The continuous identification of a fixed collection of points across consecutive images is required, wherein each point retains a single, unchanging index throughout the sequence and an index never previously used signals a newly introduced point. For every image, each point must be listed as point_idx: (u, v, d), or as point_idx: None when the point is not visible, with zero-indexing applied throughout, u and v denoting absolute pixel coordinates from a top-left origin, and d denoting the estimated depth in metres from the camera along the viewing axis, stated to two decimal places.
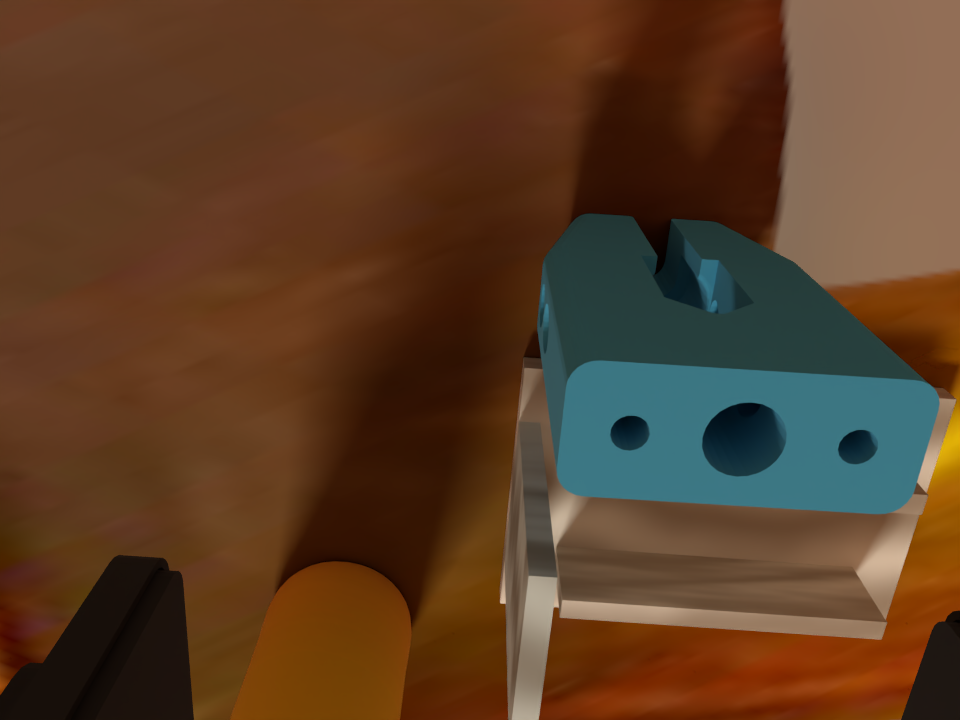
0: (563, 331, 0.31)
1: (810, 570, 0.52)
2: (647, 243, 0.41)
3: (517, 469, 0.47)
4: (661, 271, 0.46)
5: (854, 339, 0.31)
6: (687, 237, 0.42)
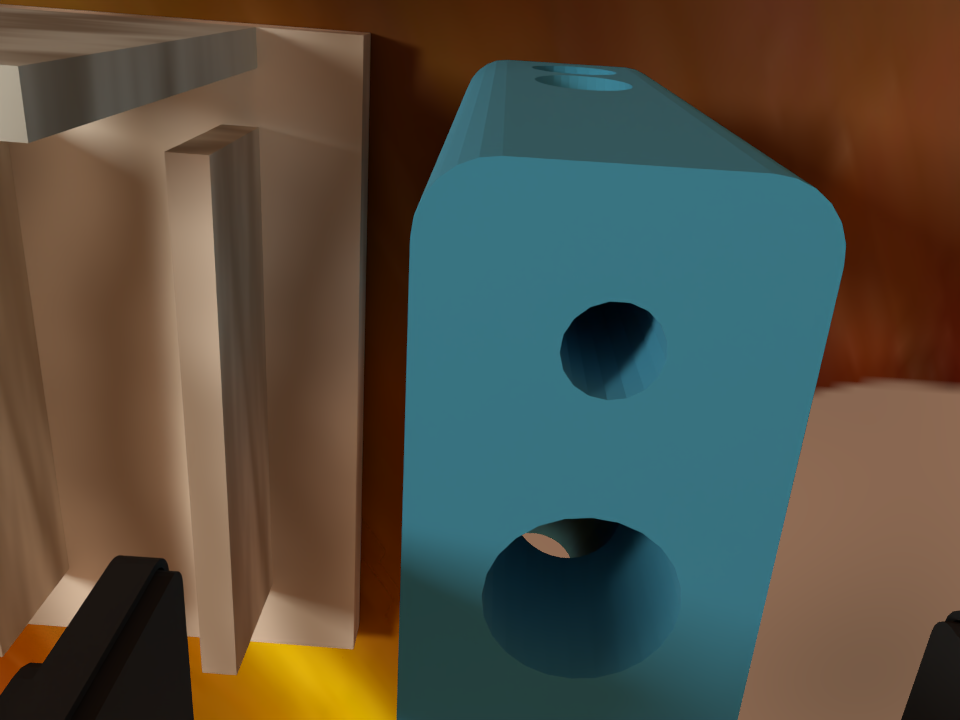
0: (738, 137, 0.13)
1: (53, 519, 0.33)
2: None
3: (173, 26, 0.24)
4: None
5: None
6: None
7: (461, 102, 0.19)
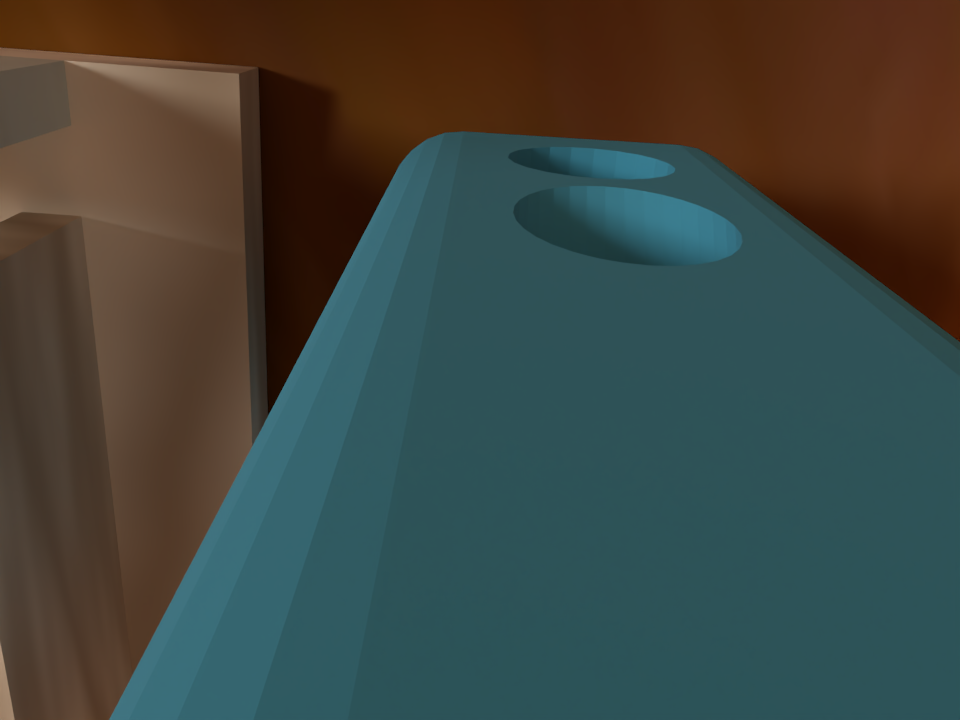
0: None
1: None
2: None
3: None
4: None
5: None
6: None
7: None
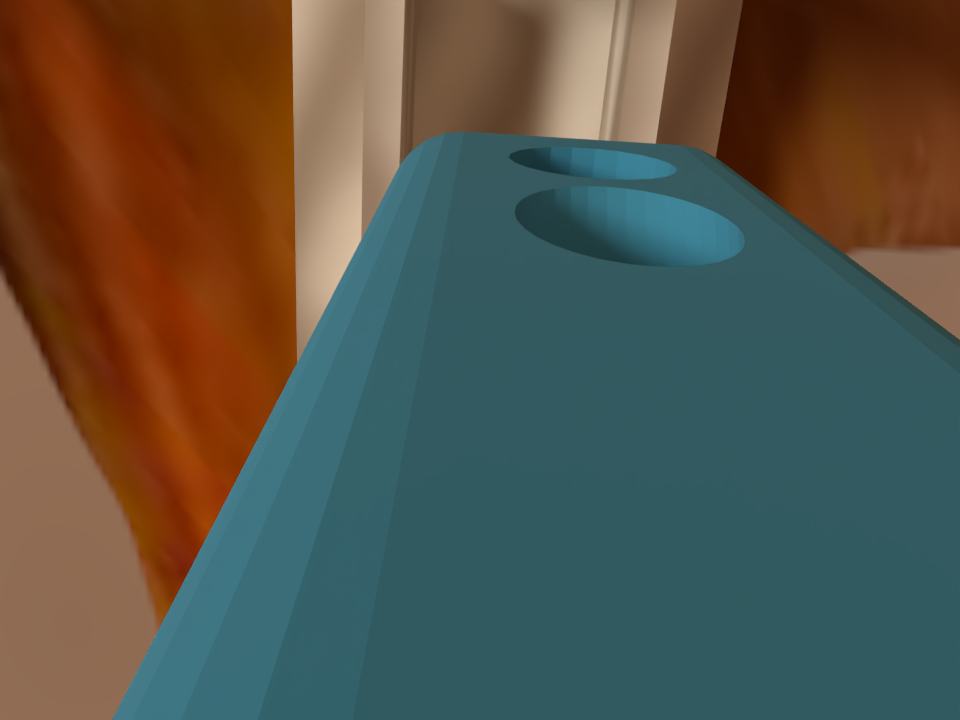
0: None
1: None
2: None
3: None
4: None
5: None
6: None
7: None
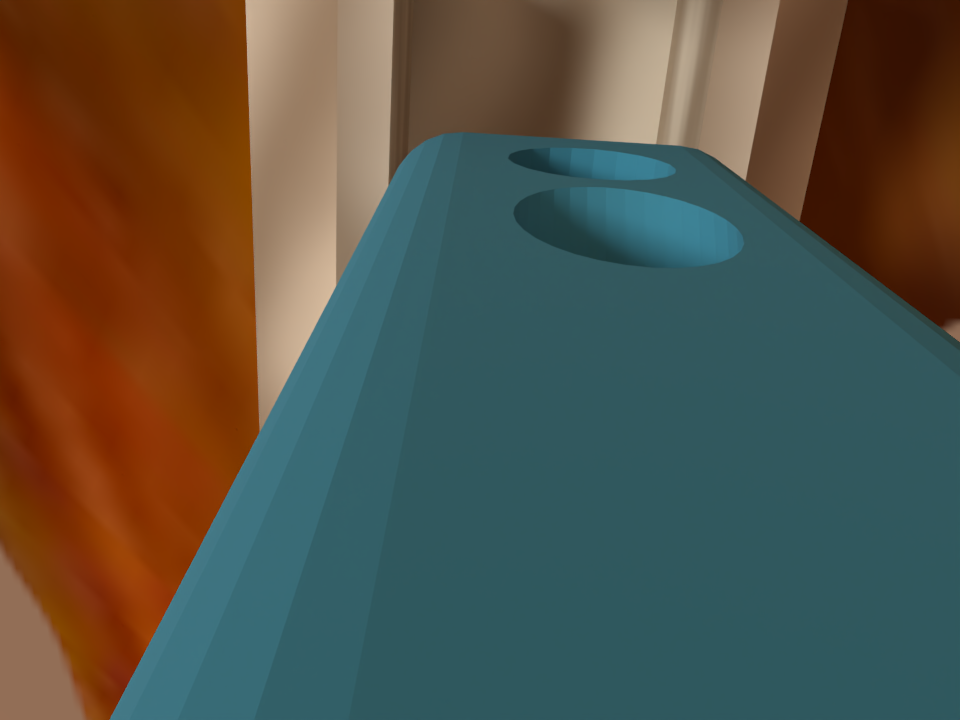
0: None
1: None
2: None
3: None
4: None
5: None
6: None
7: None
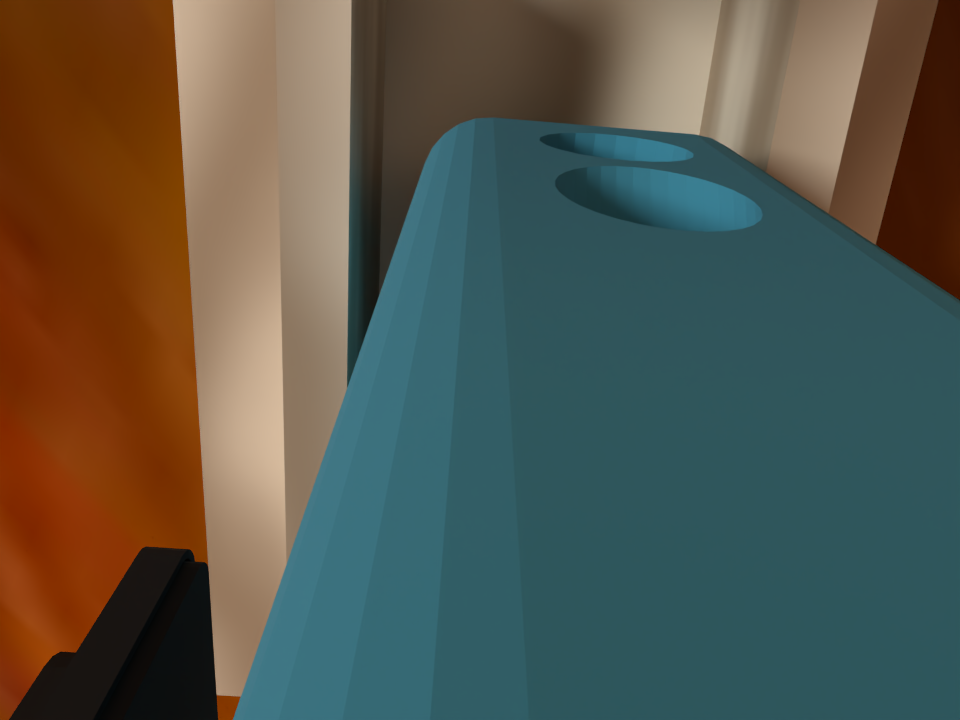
0: None
1: None
2: None
3: None
4: None
5: None
6: None
7: (407, 214, 0.10)
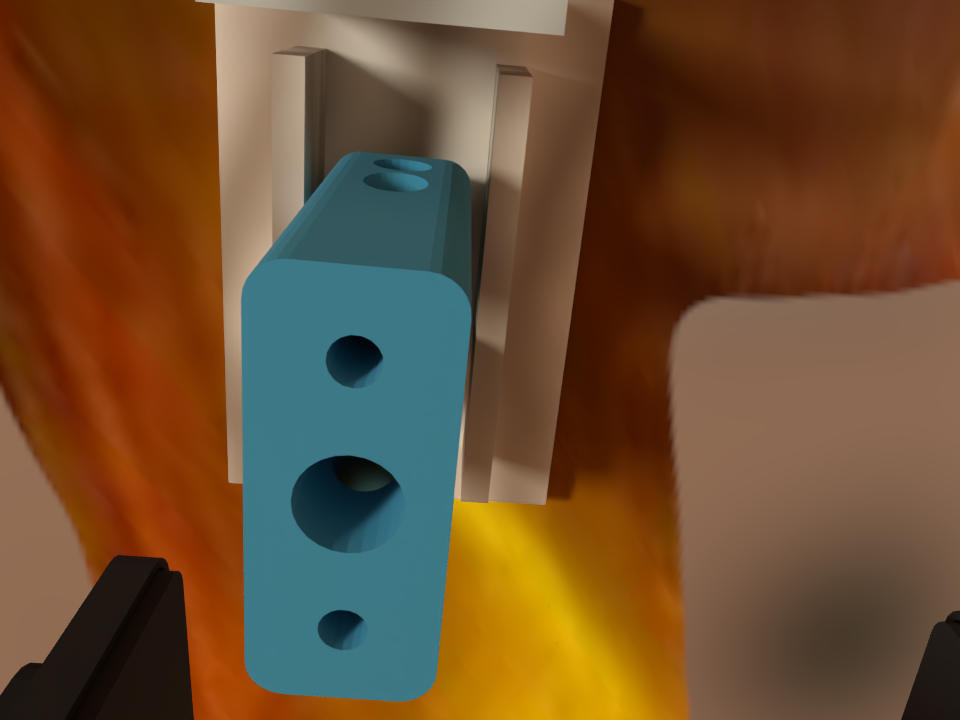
0: (455, 236, 0.22)
1: None
2: None
3: None
4: None
5: None
6: None
7: None
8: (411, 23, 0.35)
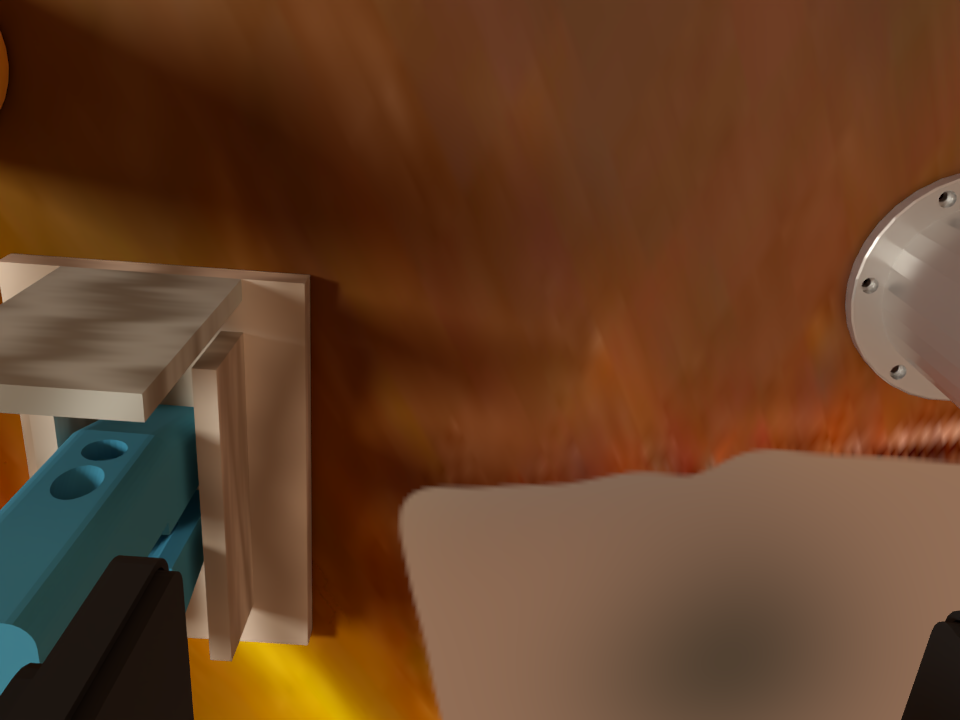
0: (68, 562, 0.33)
1: None
2: (183, 509, 0.45)
3: (194, 292, 0.43)
4: None
5: None
6: (195, 528, 0.47)
7: None
8: None
